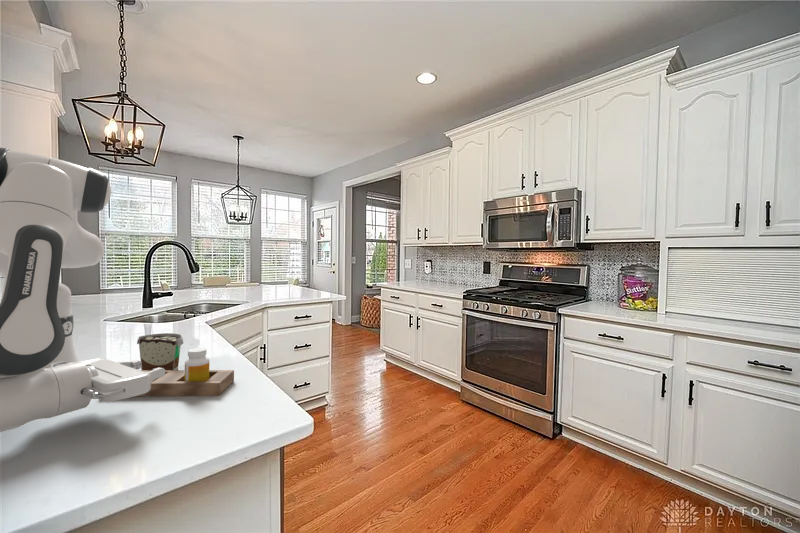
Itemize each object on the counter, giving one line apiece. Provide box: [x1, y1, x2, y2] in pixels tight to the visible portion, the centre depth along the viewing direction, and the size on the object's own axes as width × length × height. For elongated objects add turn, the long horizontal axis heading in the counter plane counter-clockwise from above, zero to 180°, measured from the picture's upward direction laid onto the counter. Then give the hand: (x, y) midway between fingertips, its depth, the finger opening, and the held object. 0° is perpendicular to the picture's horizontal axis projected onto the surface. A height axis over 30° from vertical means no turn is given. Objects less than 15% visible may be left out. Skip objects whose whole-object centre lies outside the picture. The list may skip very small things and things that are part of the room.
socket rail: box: [137, 369, 235, 397], centre depth 88 cm, size 26×9×3 cm, turn 96°
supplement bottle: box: [184, 347, 210, 381], centre depth 88 cm, size 5×5×10 cm
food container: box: [136, 332, 184, 370], centre depth 100 cm, size 12×6×10 cm, turn 84°
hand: (151, 367), depth 79 cm, fingers open, 8 cm apart
